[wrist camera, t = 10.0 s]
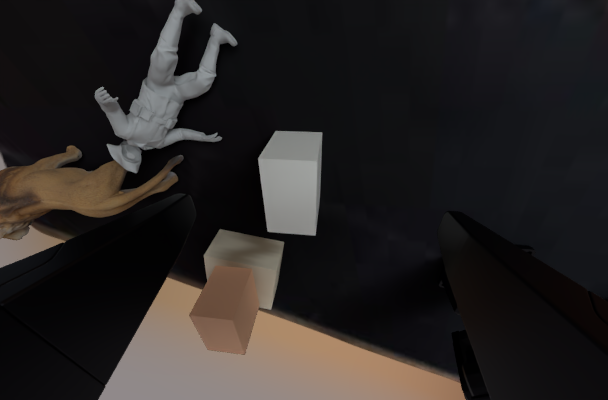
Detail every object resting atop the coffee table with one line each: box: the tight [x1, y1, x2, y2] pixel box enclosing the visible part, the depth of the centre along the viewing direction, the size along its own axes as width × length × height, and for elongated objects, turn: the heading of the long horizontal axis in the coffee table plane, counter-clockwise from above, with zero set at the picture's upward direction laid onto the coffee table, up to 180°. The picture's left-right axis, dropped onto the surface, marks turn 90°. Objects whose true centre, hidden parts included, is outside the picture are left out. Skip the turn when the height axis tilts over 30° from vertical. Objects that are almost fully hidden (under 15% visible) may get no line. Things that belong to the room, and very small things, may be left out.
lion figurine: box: [0, 146, 184, 240], centre depth 18 cm, size 15×5×9 cm, turn 102°
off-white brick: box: [258, 131, 322, 236], centre depth 18 cm, size 4×6×5 cm, turn 0°
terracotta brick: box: [189, 266, 260, 355], centre depth 22 cm, size 4×6×5 cm, turn 1°
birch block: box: [204, 229, 284, 310], centre depth 26 cm, size 7×7×4 cm
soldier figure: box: [95, 0, 237, 173], centre depth 16 cm, size 8×5×12 cm
